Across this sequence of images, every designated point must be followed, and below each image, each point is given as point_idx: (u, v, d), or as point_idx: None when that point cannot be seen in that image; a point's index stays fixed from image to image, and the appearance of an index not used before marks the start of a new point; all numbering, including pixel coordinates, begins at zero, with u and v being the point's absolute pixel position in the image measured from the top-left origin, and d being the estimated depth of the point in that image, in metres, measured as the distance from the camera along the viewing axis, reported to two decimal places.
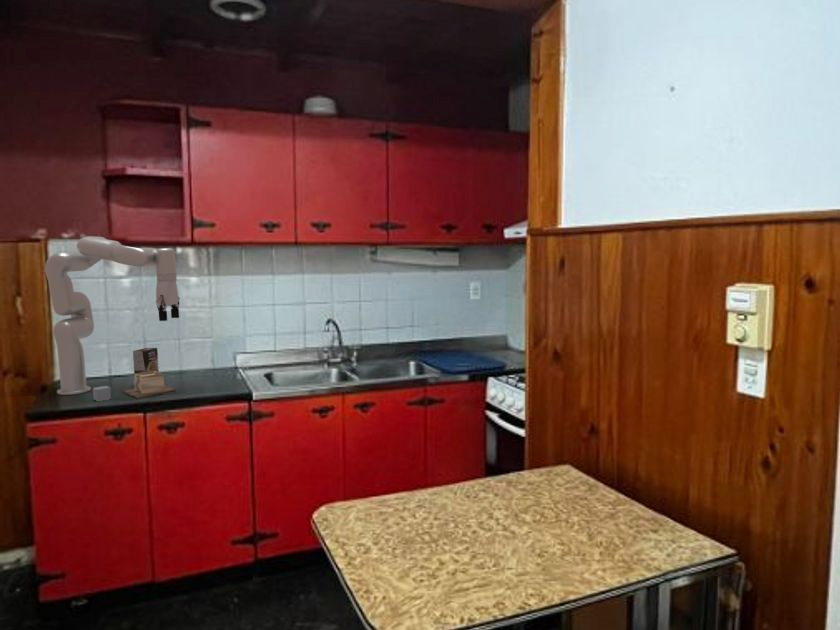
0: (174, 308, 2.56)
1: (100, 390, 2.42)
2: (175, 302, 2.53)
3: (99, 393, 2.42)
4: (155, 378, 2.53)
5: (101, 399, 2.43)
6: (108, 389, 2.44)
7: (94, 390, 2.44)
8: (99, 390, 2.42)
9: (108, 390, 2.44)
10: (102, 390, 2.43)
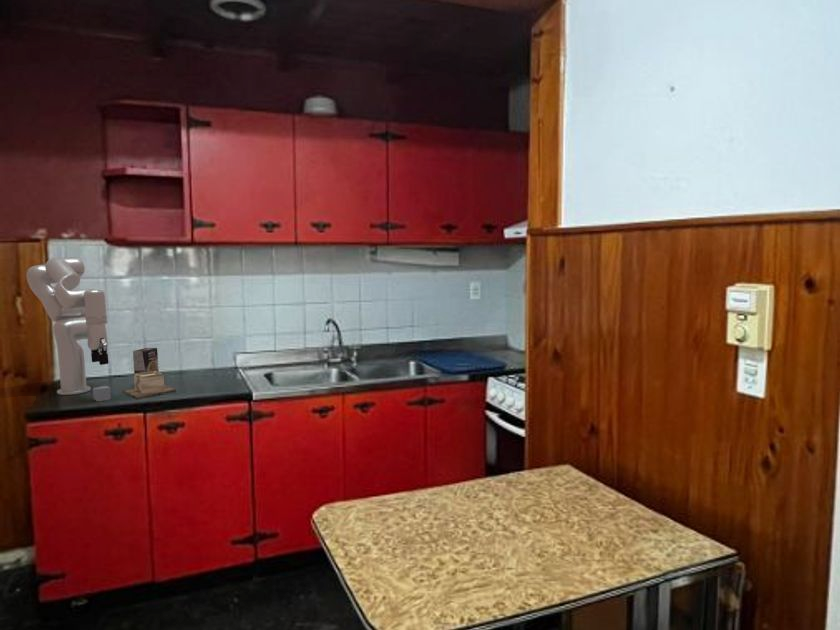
0: (95, 351, 2.46)
1: (100, 390, 2.42)
2: None
3: (99, 393, 2.42)
4: (155, 378, 2.53)
5: (101, 399, 2.43)
6: (108, 389, 2.44)
7: (94, 390, 2.44)
8: (99, 390, 2.42)
9: (108, 390, 2.44)
10: (102, 390, 2.43)
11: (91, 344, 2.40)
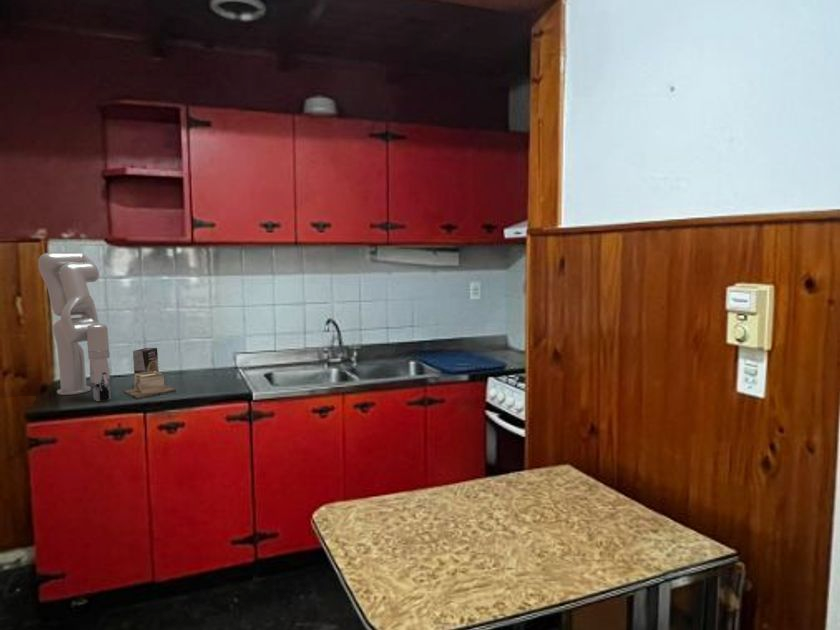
0: None
1: None
2: None
3: (99, 393, 2.42)
4: (155, 378, 2.53)
5: None
6: (108, 389, 2.44)
7: (94, 390, 2.44)
8: (99, 390, 2.42)
9: (108, 390, 2.44)
10: None
11: (93, 378, 2.42)
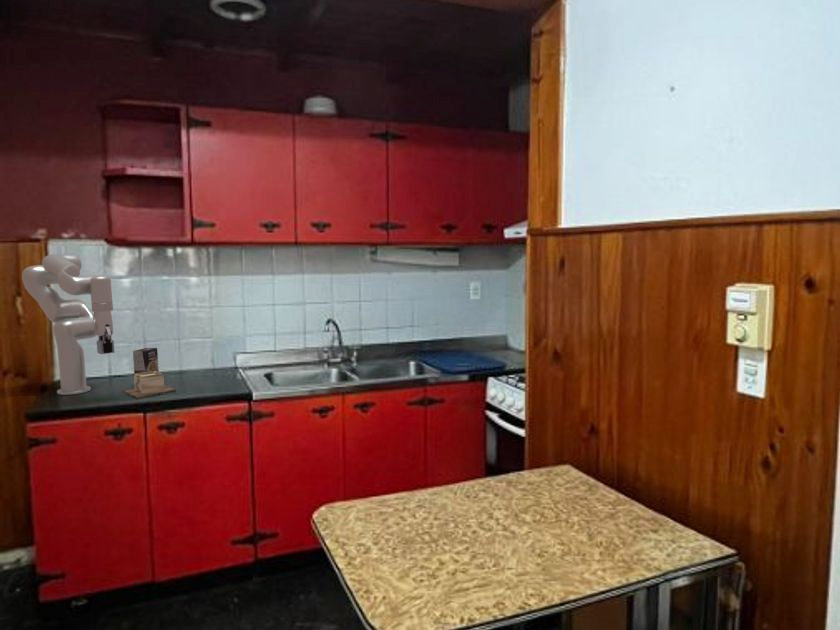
0: None
1: (103, 342, 2.42)
2: None
3: (102, 345, 2.41)
4: (155, 378, 2.53)
5: None
6: None
7: (98, 343, 2.43)
8: (102, 342, 2.41)
9: None
10: None
11: (97, 330, 2.41)
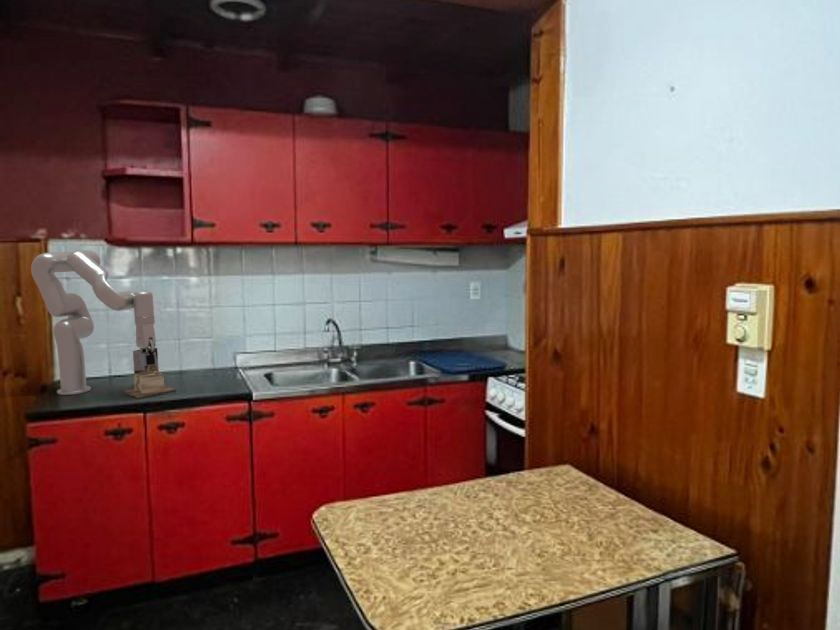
0: None
1: (146, 354, 2.52)
2: None
3: None
4: (155, 378, 2.53)
5: None
6: (154, 354, 2.54)
7: (140, 355, 2.53)
8: (146, 354, 2.52)
9: (154, 355, 2.54)
10: None
11: (140, 343, 2.51)
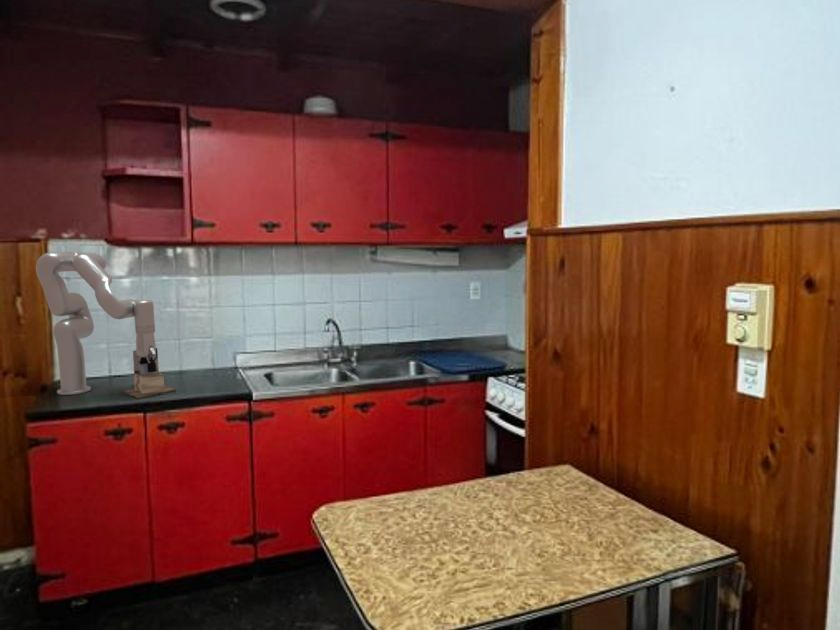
0: (144, 359, 2.58)
1: None
2: None
3: (146, 369, 2.52)
4: (155, 378, 2.53)
5: (147, 375, 2.53)
6: None
7: (141, 367, 2.54)
8: (146, 366, 2.52)
9: None
10: None
11: (140, 352, 2.52)
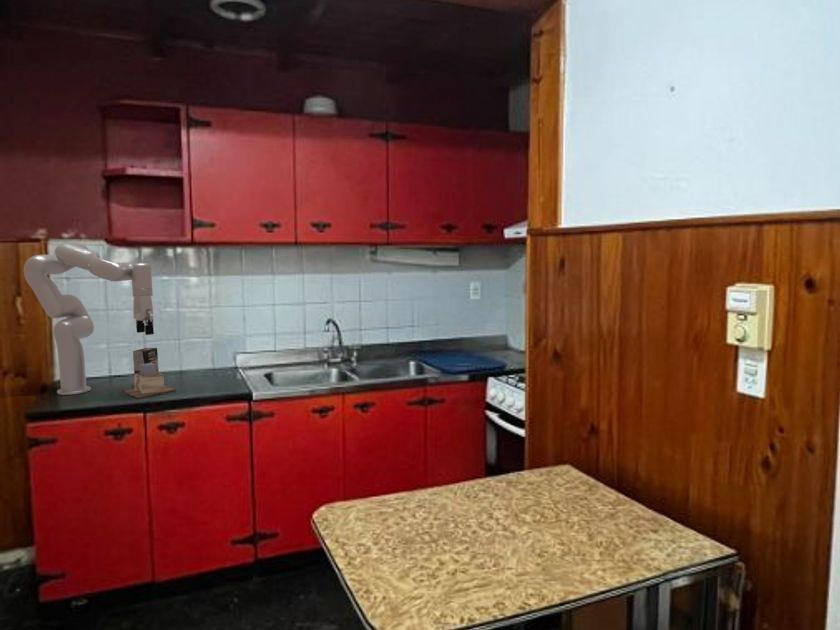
0: (140, 322, 2.56)
1: (147, 366, 2.53)
2: None
3: (146, 369, 2.52)
4: (155, 378, 2.53)
5: (147, 375, 2.53)
6: (154, 366, 2.55)
7: (141, 367, 2.54)
8: (146, 366, 2.52)
9: (154, 367, 2.55)
10: (148, 366, 2.53)
11: (137, 315, 2.50)
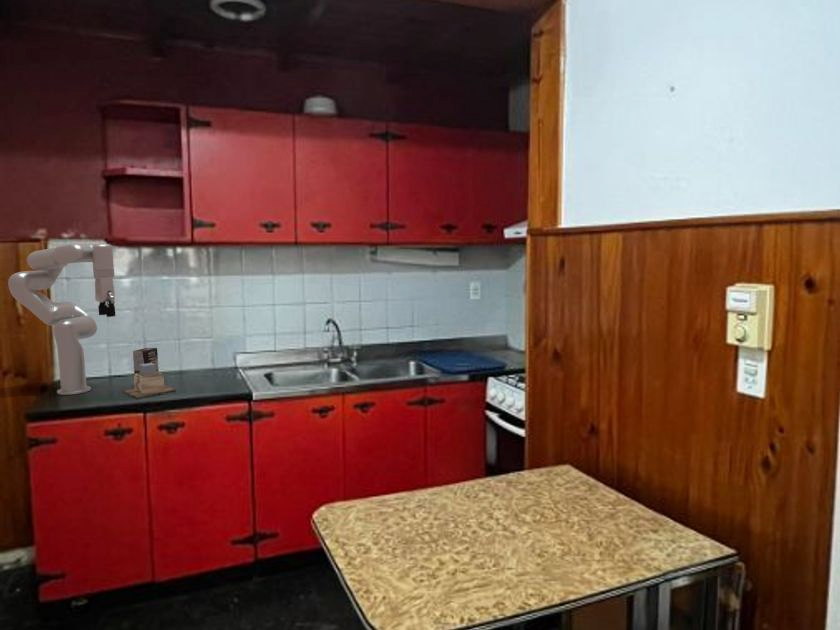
0: (103, 305, 2.53)
1: (147, 366, 2.53)
2: None
3: (146, 369, 2.52)
4: (155, 378, 2.53)
5: (147, 375, 2.53)
6: (154, 366, 2.55)
7: (141, 367, 2.54)
8: (146, 366, 2.52)
9: (154, 367, 2.55)
10: (148, 366, 2.53)
11: (99, 297, 2.46)
